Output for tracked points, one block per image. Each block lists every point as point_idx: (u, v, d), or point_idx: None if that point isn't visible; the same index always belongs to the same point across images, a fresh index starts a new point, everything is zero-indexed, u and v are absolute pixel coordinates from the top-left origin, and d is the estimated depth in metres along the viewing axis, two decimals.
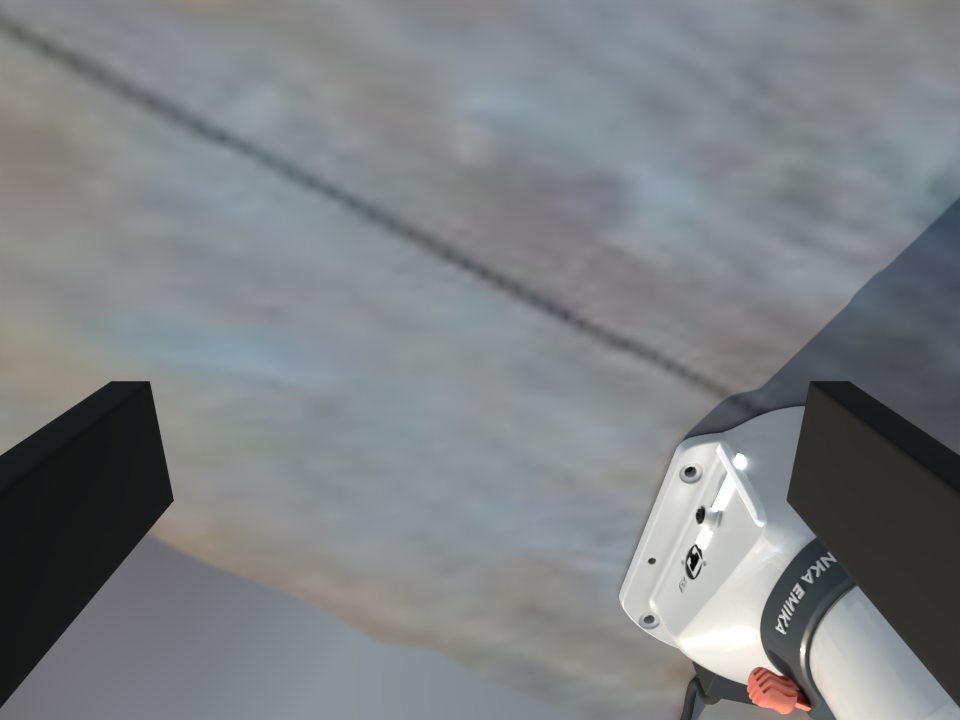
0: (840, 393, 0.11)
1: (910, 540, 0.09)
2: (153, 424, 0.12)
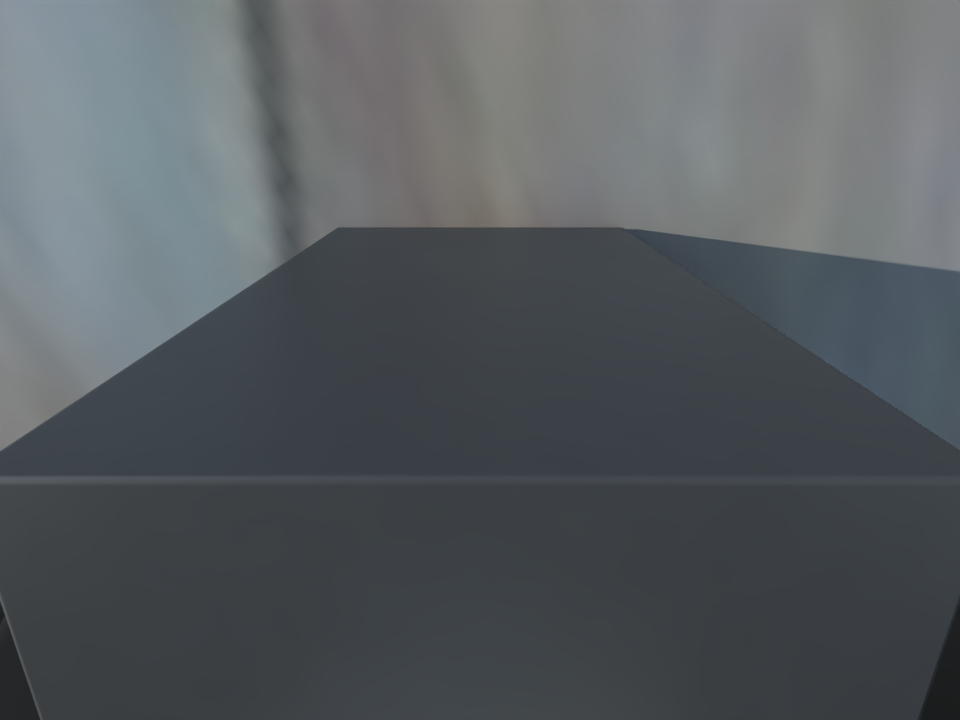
0: None
1: None
2: None
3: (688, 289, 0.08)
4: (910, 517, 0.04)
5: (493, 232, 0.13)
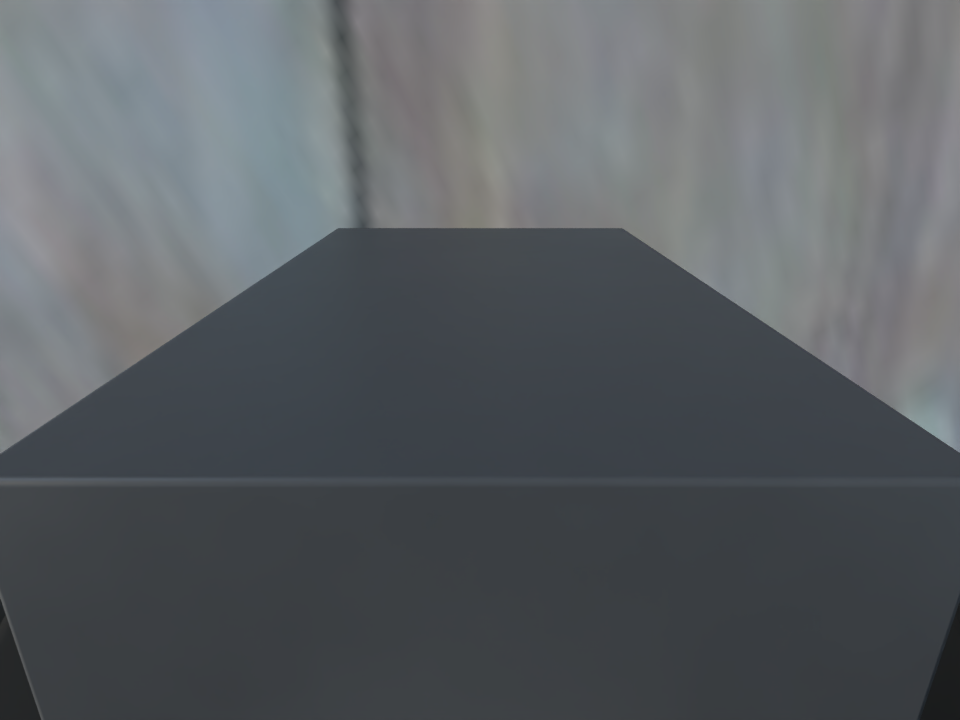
0: None
1: None
2: None
3: (688, 290, 0.08)
4: (909, 519, 0.04)
5: (493, 233, 0.13)
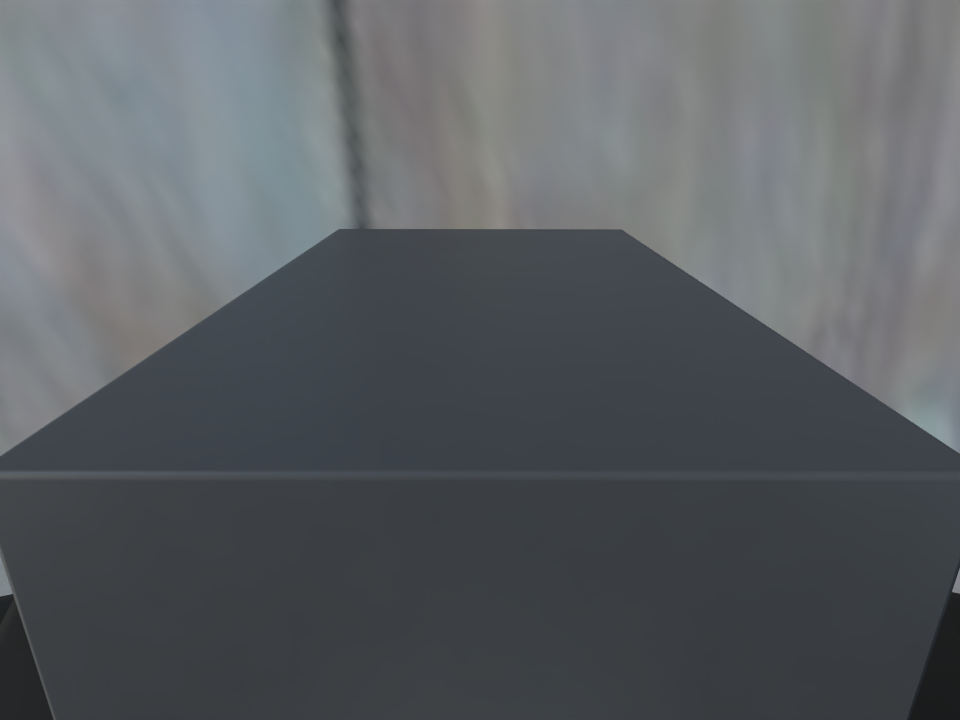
0: None
1: None
2: None
3: (686, 290, 0.08)
4: (901, 511, 0.04)
5: (493, 234, 0.13)
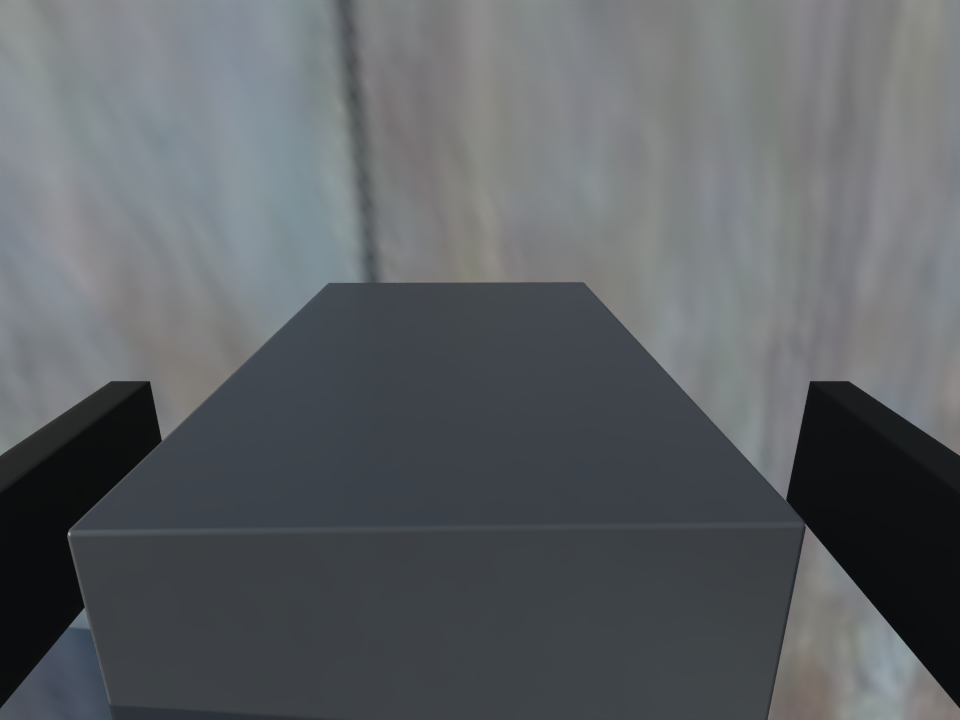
0: (840, 393, 0.11)
1: (910, 540, 0.09)
2: (153, 424, 0.12)
3: (625, 353, 0.10)
4: (745, 552, 0.05)
5: (468, 288, 0.15)
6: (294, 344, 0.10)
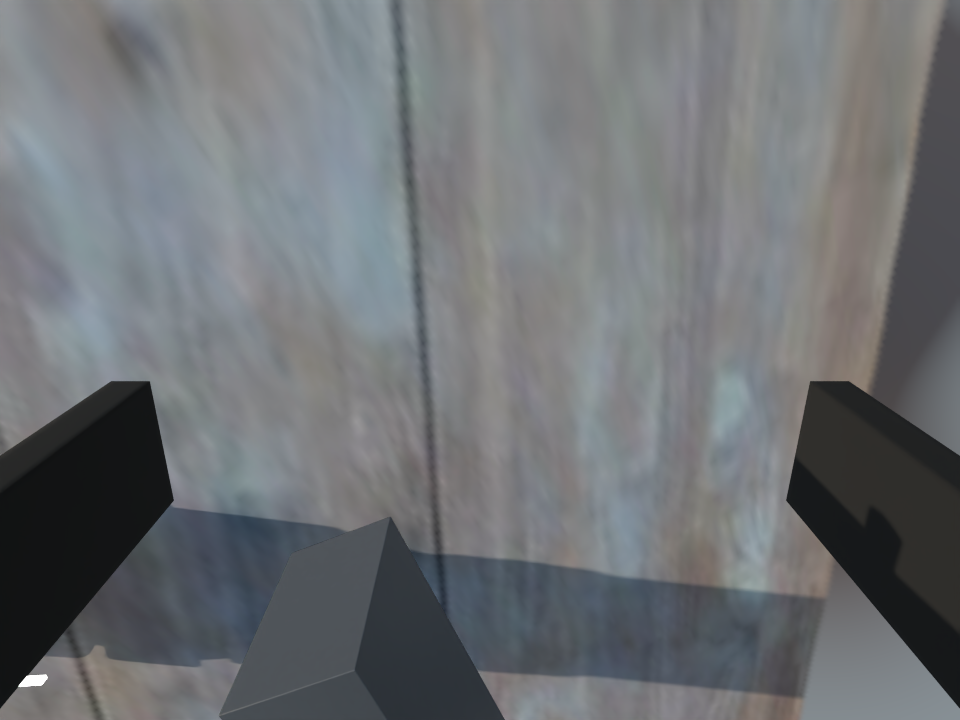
0: (840, 393, 0.11)
1: (910, 540, 0.09)
2: (153, 424, 0.12)
3: (365, 590, 0.29)
4: (347, 678, 0.25)
5: (341, 541, 0.34)
6: (270, 616, 0.31)
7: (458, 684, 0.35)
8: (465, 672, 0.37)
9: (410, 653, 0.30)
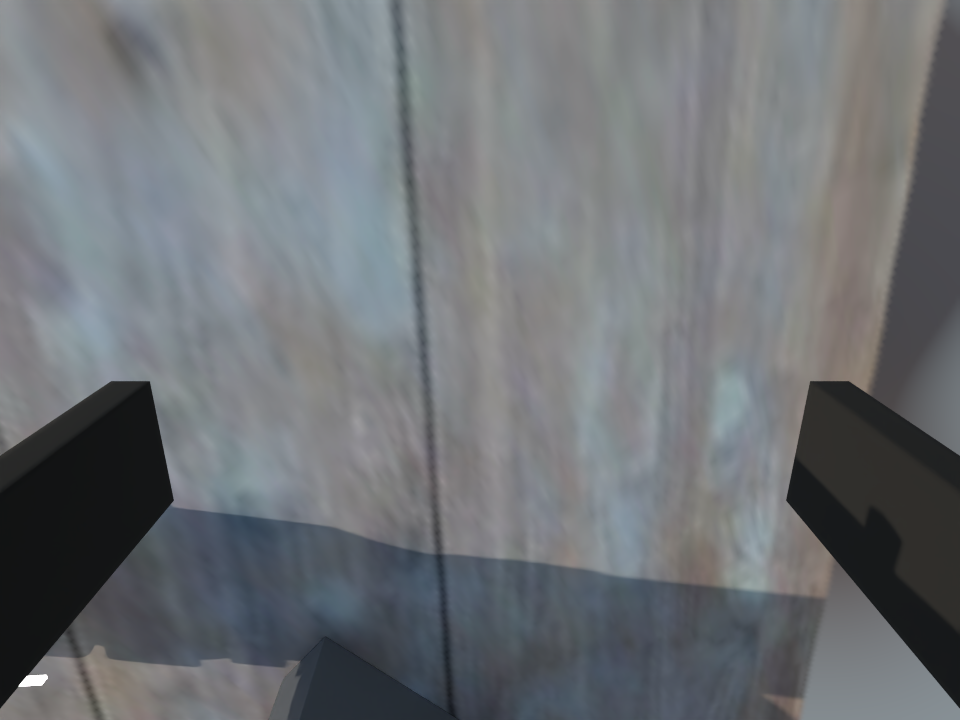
0: (840, 393, 0.11)
1: (910, 540, 0.09)
2: (153, 423, 0.12)
3: (303, 698, 0.47)
4: None
5: (303, 663, 0.53)
6: None
7: None
8: (420, 713, 0.54)
9: None
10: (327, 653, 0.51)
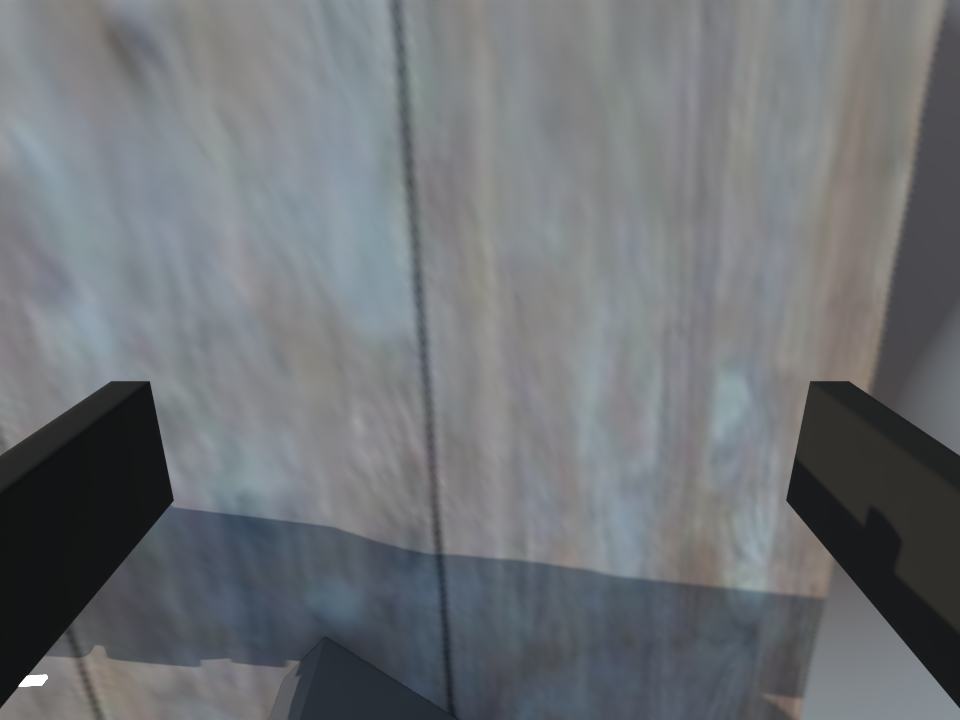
0: (840, 393, 0.11)
1: (910, 540, 0.09)
2: (153, 423, 0.12)
3: (303, 698, 0.47)
4: None
5: (303, 663, 0.53)
6: None
7: None
8: (420, 713, 0.54)
9: None
10: (327, 653, 0.51)
